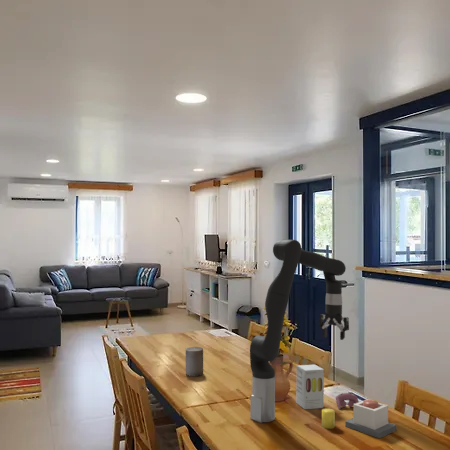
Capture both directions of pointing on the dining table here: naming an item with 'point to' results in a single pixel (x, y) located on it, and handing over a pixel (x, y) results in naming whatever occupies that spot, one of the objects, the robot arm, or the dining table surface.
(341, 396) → the video game controller
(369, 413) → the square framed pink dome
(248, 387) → the dining table surface
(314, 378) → the supplement box
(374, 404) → the button
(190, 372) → the pillar candle
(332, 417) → the cap
